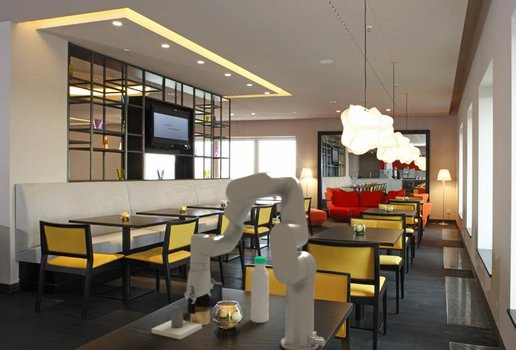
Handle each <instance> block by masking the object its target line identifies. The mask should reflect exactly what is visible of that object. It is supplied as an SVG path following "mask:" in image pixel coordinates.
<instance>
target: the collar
mask: <svg viewBox="0 0 516 350" xmlns="http://www.w3.org/2000/svg"><path fill="white" fill-rule="evenodd" d="M210 312H211V309H210V307H209V308H207V307H195V314H191V313H190V321H189V322H193V323H198V324H202V326H205V325H208V324H210V319H211V313H210Z"/></svg>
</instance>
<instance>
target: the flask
mask: <svg viewBox="0 0 516 350" xmlns="http://www.w3.org/2000/svg"><path fill="white" fill-rule="evenodd" d="M211 283H212V284H213V288H212V292H211V297H210V305H211V304H214V305H215V304H216V303H217V302H219V301H222V302H223V283H222V282H220V281H216V280H215V278H211ZM216 305H217V304H216Z"/></svg>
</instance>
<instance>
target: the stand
mask: <svg viewBox="0 0 516 350" xmlns="http://www.w3.org/2000/svg"><path fill="white" fill-rule="evenodd" d="M201 329H203V325H202V324H198V323H193V322H190V321H188V320H184V306H182V305H174V306H172V307H171V319H170V320H168V321H166V322H164V323H162V324H160V325H157V326H155V327H153V328H151V334H156V335H159V336H164V337H168V338H172V339H177V340H182V339H184V338H186V337H189V336H191V335H192V334H193V333H196V332H197V331H199V330H201Z"/></svg>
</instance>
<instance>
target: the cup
mask: <svg viewBox="0 0 516 350" xmlns="http://www.w3.org/2000/svg"><path fill="white" fill-rule="evenodd" d="M203 296H204V295H203ZM203 296H200V297H197V298H196V300H195V302H194V303H195V307H204V306H203ZM207 308H209V309H210V307H207Z"/></svg>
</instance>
